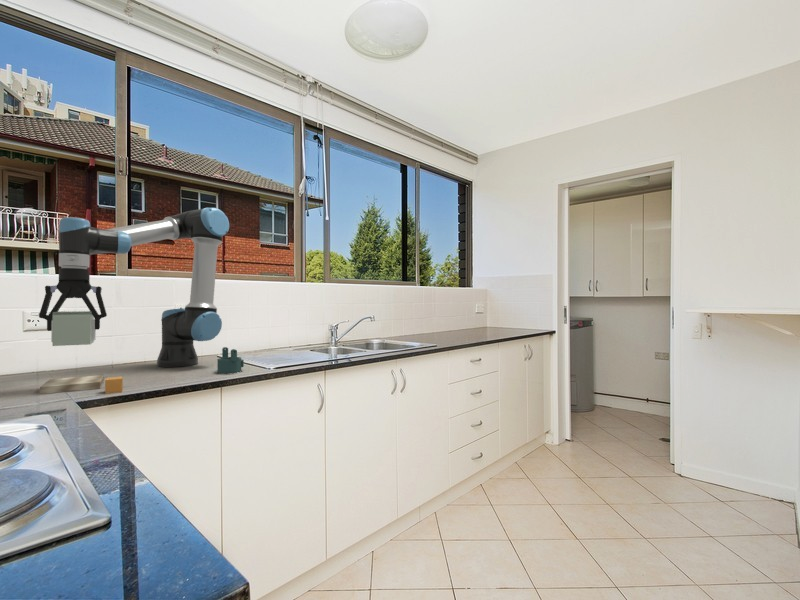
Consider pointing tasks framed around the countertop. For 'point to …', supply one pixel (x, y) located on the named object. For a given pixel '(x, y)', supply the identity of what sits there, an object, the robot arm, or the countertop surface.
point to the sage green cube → (72, 328)
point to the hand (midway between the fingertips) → (74, 340)
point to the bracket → (229, 362)
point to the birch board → (72, 384)
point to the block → (113, 385)
